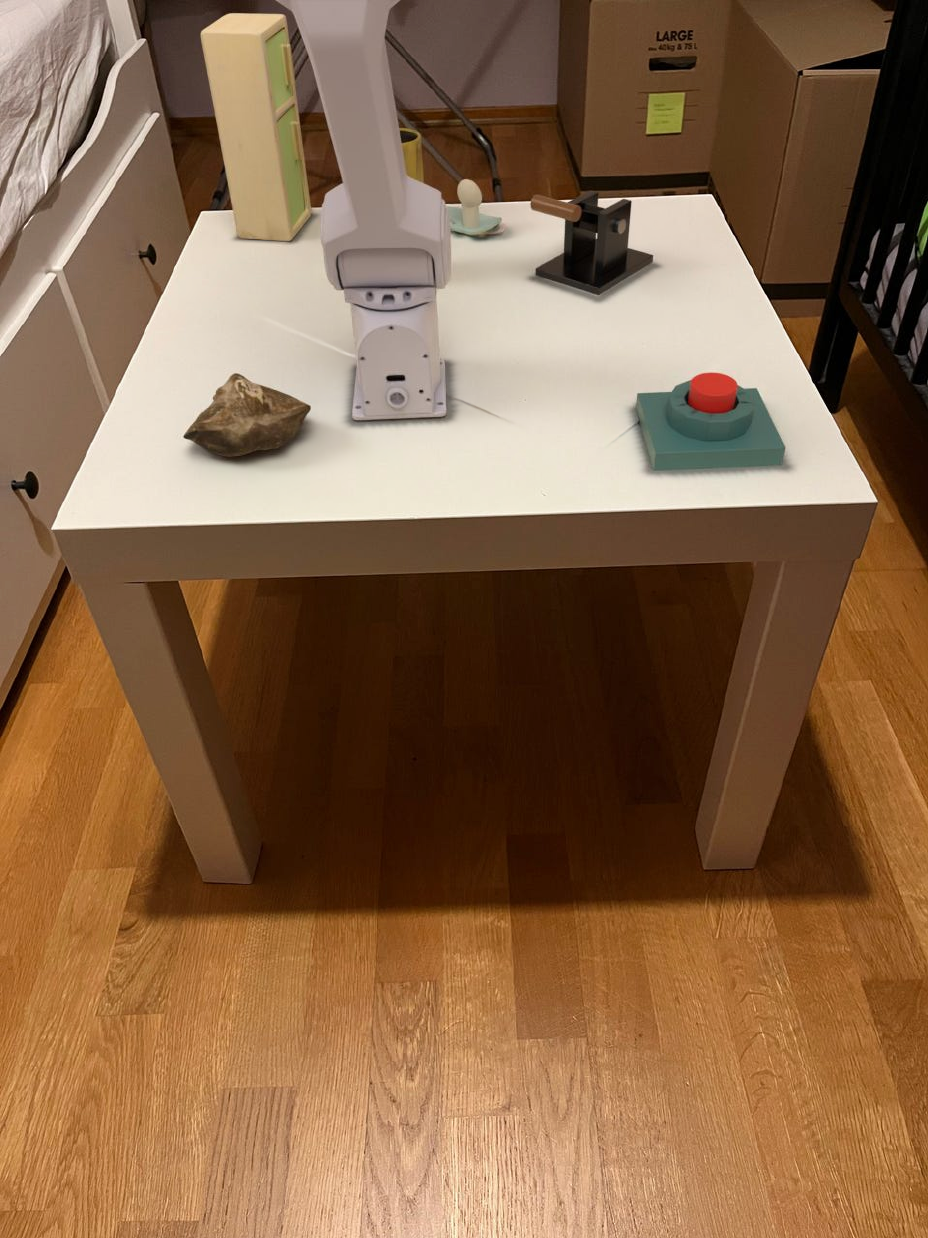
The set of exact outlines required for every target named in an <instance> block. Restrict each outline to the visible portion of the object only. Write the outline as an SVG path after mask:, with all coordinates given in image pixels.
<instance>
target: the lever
mask: <svg viewBox="0 0 928 1238" xmlns="http://www.w3.org/2000/svg"><path fill="white" fill-rule="evenodd" d="M567 202H568V201H567ZM567 202H566V201H563V200H559V199H555V198H551V197H548V196H545V195H540V194H537V193H536V194H534V195H533V196H532V198H531V200H530V209H531V210H532V211H535V212H538V213H541V214H545V215H549V216H553V217H556V218H559V219H561V220H565V219H566V220H569V221H573V222H577V221H578V220H579V221H580V224H579V228H580V229H584V230H587V231H591V232H594V233H596V234H597V230H598V214H599V212H600V211H602V210H604V209H605V208H606V207H601V206H599V205H598V206H594V205H591V204H587V203H585V206H584V210H581V207H580V206H578V205H574V204H570V203H567Z"/></svg>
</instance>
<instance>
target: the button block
mask: <svg viewBox="0 0 928 1238" xmlns="http://www.w3.org/2000/svg"><path fill="white" fill-rule="evenodd" d="M691 380H692V379H689V380H687V381H684V382H682V383H679V384H676V385H675V386H674V387H673V389H672V390H671V391H656V392H654V391H653V392H637V394H636V401H635V402H636V403H635V407H636V411H637V414H638V418H639V420H638V423H639V427H640V430H641V433H642V436H643V440H644V443H645V447H646V450H647V453H648V456H649V460H650V463H651V466H652V467H651V468H652V470H653V472H657V471H658V472H659V471H679V470H681V471H684V470H705V469H706V470H707V469H728V468H730V469H731V468H749V467H750V468H751V467H772V466H773V467H774V466H776V467H777V466H782V465H783V460H784V456H785V452H786V445H785V443H784V442H783V439H782V438H781V435H780V433H779V431H778V429H777V427H776V425H775V423H774V421H773V419H772V417H771V415H770V413H769V411H768V408H767V405H766V404H765V403H764V400H763V398H762V396H761V394H760V392H759V390H758V388H757V387H750V388H749V387H748V388H746V387H745V388H744V387H743V386H741V385H739V384H737V385H738V388H737V393H736V399H735V404H734V408H733V409H732V410H731V411H729V412H726V413H718V414H710V413H705V412H701V411H697V410H695V409H693V408H692V407H690V406H689V404H688V397H689V390H690V383H691Z"/></svg>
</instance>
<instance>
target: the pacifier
mask: <svg viewBox="0 0 928 1238" xmlns="http://www.w3.org/2000/svg"><path fill="white" fill-rule="evenodd" d="M456 192H457V198H458V200H459V201H460V203H461V207H459V206H447V207H446V211H447V212H448V213H449V218H450V231H453V232H457V233H460V234H464V235H467V236H475V237H476V236H477V237H479V236H480V237H481V236H485V235H497V234H501V233H504V232H505V230H506V225H505V224H504V223H503V222H502V217H500V216H499V217H498V216H493V215H487V214H483V213H480V211H479V210H480V209H479V207H480V205H481V204H482V202H483V194H482V191H481V189H480V187H479V186H478V184H477V183H476V182H474V181H473V180H472V179H468V178H464V179H462V180H460V182H459V183H458V185H457V191H456Z"/></svg>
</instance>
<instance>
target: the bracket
mask: <svg viewBox="0 0 928 1238" xmlns="http://www.w3.org/2000/svg"><path fill="white" fill-rule="evenodd" d="M567 203H570V204H574V205H578V206H580V207H581V210H584V206H585V203H587V204H591V205H594V206H598V207H599V192H598V191H596V190H588V191H587V192H585V193H583V194H580V195H579V196H577V197H574V198H573V199H571V200H569V201H567ZM632 203H633V201H632V200H630V199H626V198H622V199H620V200H619V201H617V202H615V203H613V204H611V205H609V206H608V207H604V208H605V209H604V210H602V211H600V212H599V214H598V230H597V233H594V232H591V231H587V230H584V229H580V228H579V224H580V221H579V220H578V221H577V222H573V221H569V220H566V219H564V233H563V234H564V235H563V236H564V237H563V238H564V239H563V252H562V253H560V254H559V255H557V256H555V257H554V258H552V259H550V260H548V261H546V262H545V263H543V264H541V265H539V266H537V267H535V276H537V277H540V278H543V279H547V280H549V281H551V282H555V283H559V284H562V285H564V286H568V287H570V288H574V289H577V290H581V291H583V292H587V293H590V294H593V295H596V296H600V295H601V294H603V293H605V292H607V291H608V290H610V289H612V288H613V287H615V286H616V285H618V284H620V283H621V282H622V281H625V280H626V279H628V278H629V277H631V276H633V275H634V274H636V273H637V272H639V271H641V270H643V269H644V268H646V267H647V266H649V265H650V264H652V263H653V262H654V254H650V253H647V252H644V251H641V250H637V249H634V248H631V247H629V240H630V239H629V237H630V227H631V215H632V214H631V213H632Z"/></svg>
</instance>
